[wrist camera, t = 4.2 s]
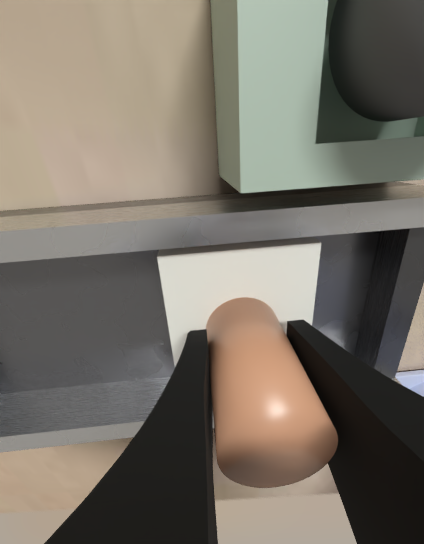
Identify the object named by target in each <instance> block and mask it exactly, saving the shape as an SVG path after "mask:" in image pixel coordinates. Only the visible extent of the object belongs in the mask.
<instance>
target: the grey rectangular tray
mask: <svg viewBox="0 0 424 544" xmlns="http://www.w3.org/2000/svg"><path fill="white" fill-rule="evenodd" d="M301 237H314V238H316V239H317V240H318V241H320V242H321V251H320V260H319V268H318V277H317V286H316V295H315V304H314V312H313V321H312V326H313V327H315V328H316V329H317V330H319V331H320V332H321V333H323V334H324V335H325V336H327V337H328V338H330V339H331V340H332V341H334V342H335V343H337V344H338V345H339V346H341V347H342V348H344V349H345V350H346V351H348V352H349V353H351V354H352V355H354V356H355V357H357V358H358V359H360V360H361V361H363V362H364V363H366V364H368V365H369V366H371V367H372V368H374V369H376V370H377V371H379V372H380V373H382V374H384V375H385V376H387V377H389V378H390V379H392V380H394V381H396V382H397V383H399V384H401V383H400V382H399V381H398V380H397V379H396V377H395V376H396V372H397V369H398V366H399V362H400V359H401V356H402V352H403V349H404V346H405V342H406V339H407V336H408V332H409V329H410V326H411V323H412V319H413V316H414V313H415V309H416V306H417V303H418V299H419V296H420V293H421V289H422V286H423V283H424V186H422V185H415V184H409V183H402V182H382V183H369V184H356V185H343V186H330V187H317V188H304V189H291V190H278V191H265V192H252V193H230V194H217V195H204V196H191V197H178V198H165V199H152V200H139V201H126V202H113V203H100V204H87V205H74V206H61V207H48V208H35V209H22V210H9V211H0V452H8V451H17V450H26V449H35V448H44V447H53V446H61V445H70V444H79V443H88V442H97V441H105V440H114V439H123V438H132V437H134V436H135V435H136V434H137V432H138V431H139V429H140V428H141V426H142V425H143V423H144V422H145V420H146V419H147V417H148V416H149V414H150V413H151V411H152V409H153V408H154V406H155V405H156V403H157V401H158V399H159V398H160V396H161V394H162V392H163V390H164V389H165V387H166V385H167V383H168V381H169V379H170V377H171V375H172V373H173V371H174V369H175V365H174V359H173V353H172V347H171V341H170V334H169V328H168V322H167V316H166V310H165V303H164V297H163V291H162V285H161V279H160V272H159V266H158V260H157V255H158V252H159V250H160V249H171V248H183V247H195V246H207V245H219V244H230V243H242V242H254V241H266V240H278V239H289V238H301ZM401 385H402V384H401ZM213 428H214V418H213Z"/></svg>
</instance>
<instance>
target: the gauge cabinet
mask: <svg viewBox="0 0 424 544" xmlns="http://www.w3.org/2000/svg"><path fill="white" fill-rule="evenodd" d="M336 2H337V0H210V3H211V24H212V44H213V64H214V84H215V104H216V125H217V145H218V165H219V176H220V177H221V178H223V179H224V180H225V181H226V182H228V183H229V184H230V185H231V186H232V187H234V188H235V189H236V190H237V191H238V192H240V193H252V192H265V191H278V190H291V189H304V188H317V187H330V186H343V185H356V184H369V183H382V182H395V181H408V180H421V179H424V117H417V118H410V119H404V120H397V121H390V122H380V121H374V120H370V119H367V118H364V117H362V116H361V115H359V114H357V113H356V112H354V111H353V110H352V109H351V108H350V107H349V106H348V105H347V104H346V103H345V102H344V101H343V99H342V97H341V96H340V94H339V93H338V91H337V88H336V86H335V84H334V81H333V77H332V74H331V69H330V64H329V51H328V46H329V32H330V25H331V20H332V16H333V12H334V8H335V5H336Z"/></svg>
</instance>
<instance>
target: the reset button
mask: <svg viewBox="0 0 424 544" xmlns="http://www.w3.org/2000/svg"><path fill="white" fill-rule="evenodd" d="M328 51H329V64H330V69H331V74H332V77H333V81H334V84H335V86H336V88H337V91H338V93H339V94H340V96H341V97H342V99H343V101H344V102H345V103H346V104H347V105H348V106H349V107H350V108H351V109H352V110H353V111H354V112H356V113H357V114H359V115H361V116H362V117H364V118H367V119H370V120H374V121H380V122H390V121H397V120H404V119H410V118H417V117H424V0H337V2H336V5H335V8H334V12H333V16H332V20H331V25H330V32H329V46H328Z"/></svg>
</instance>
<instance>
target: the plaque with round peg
mask: <svg viewBox="0 0 424 544" xmlns="http://www.w3.org/2000/svg"><path fill="white" fill-rule="evenodd" d="M320 251H321V242H320V241H318V240H317V239H316V238H314V237H301V238H289V239H278V240H266V241H254V242H242V243H230V244H219V245H207V246H195V247H183V248H171V249H160V250H159V252H158V255H157V260H158V266H159V272H160V279H161V285H162V291H163V297H164V303H165V310H166V316H167V322H168V328H169V334H170V341H171V347H172V353H173V359H174V365H175V367H176V364H177V362H178V360H179V358H180V355H181V353H182V350H183V347H184V345H185V342H186V338H187V334H188V333H189V332H190V331H193V330H203V329H207V340H208V351H209V362H210V384H211V395H212V407H213V418H214V430H215V441H216V453H217V462H218V465H219V468H220V470H221V471H222V472H223V474H224V475H225V476H226V477H228V478H229V479H231V480H232V481H234V482H236V483H239V484H241V485H245V486H250V487H257V488H271V487H279V486H285V485H289V484H292V483H296V482H298V481H301V480H303V479H305V478H307V477H310V476H311V475H313V474H315V473H316V472H318V471H319V470H320V469H322V468H323V467H324V466H325V465H326V464H327V463H328V462H329V461H330V460H331V458H332V457H333V455H334V453H335V451H336V449H337V445H338V435H337V432H336V429H335V427H334V426H333V424H332V422H331V420H330V418H329V416H328V414H327V412H326V410H325V408H324V406H323V404H322V403H321V401H320V399H319V397H318V395H317V393H316V391H315V389H314V387H313V385H312V383H311V382H310V380H309V378H308V376H307V374H306V372H305V370H304V368H303V366H302V364H301V362H300V361H299V359H298V357H297V355H296V353H295V351H294V349H293V347H292V345H291V343H290V341H289V339H288V338H287V336H286V333H287V321H293V320H305V321H306V322H308V323H309V324H310V325H312V321H313V312H314V304H315V295H316V286H317V277H318V268H319V260H320Z"/></svg>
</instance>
